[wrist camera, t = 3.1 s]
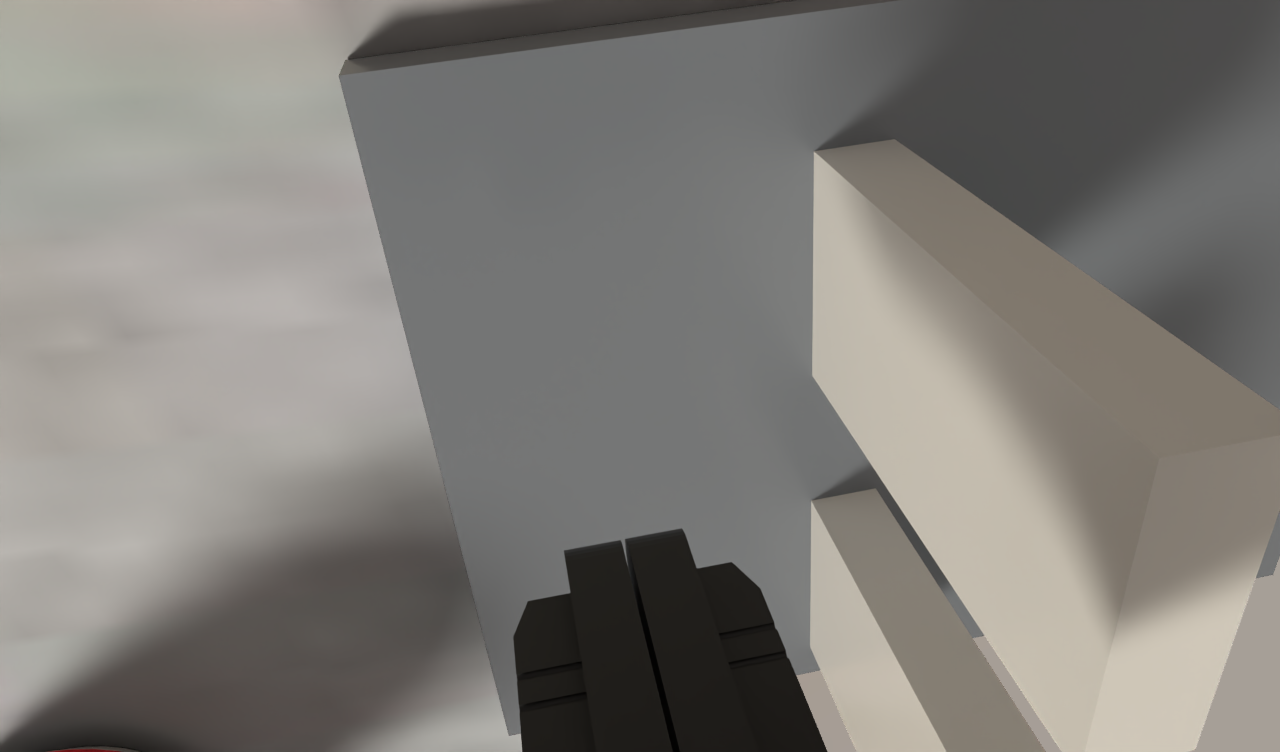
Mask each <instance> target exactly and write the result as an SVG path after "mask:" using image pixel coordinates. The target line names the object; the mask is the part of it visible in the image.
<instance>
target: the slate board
mask: <svg viewBox="0 0 1280 752" xmlns="http://www.w3.org/2000/svg"><path fill="white" fill-rule="evenodd" d="M339 79H340V83H341V86H342V90H343V94H344V98H345V102H346V106H347V110H348V114H349V117H350V121H351V125H352V129H353V133H354V137H355V141H356V145H357V148H358V152H359V156H360V160H361V164H362V168H363V172H364V176H365V179H366V183H367V187H368V191H369V195H370V199H371V203H372V207H373V211H374V214H375V218H376V222H377V226H378V230H379V234H380V238H381V242H382V245H383V249H384V253H385V257H386V261H387V265H388V269H389V273H390V276H391V280H392V284H393V288H394V292H395V296H396V300H397V304H398V307H399V311H400V315H401V319H402V323H403V327H404V331H405V335H406V338H407V342H408V346H409V350H410V354H411V358H412V362H413V366H414V369H415V373H416V377H417V381H418V385H419V389H420V393H421V397H422V400H423V404H424V408H425V412H426V416H427V420H428V424H429V428H430V432H431V435H432V439H433V443H434V447H435V451H436V455H437V459H438V463H439V466H440V470H441V474H442V478H443V482H444V486H445V490H446V494H447V497H448V501H449V505H450V509H451V513H452V517H453V521H454V525H455V528H456V532H457V536H458V540H459V544H460V548H461V552H462V556H463V559H464V563H465V567H466V571H467V575H468V579H469V583H470V587H471V590H472V594H473V598H474V602H475V606H476V610H477V614H478V618H479V621H480V625H481V629H482V633H483V637H484V641H485V645H486V649H487V653H488V656H489V660H490V664H491V668H492V672H493V676H494V680H495V684H496V687H497V691H498V695H499V699H500V703H501V707H502V711H503V715H504V718H505V722H506V726H507V730H508V734H509V736H511V735H516V734H520V733H521V726H520V714H519V713H520V709H519V702H518V689H517V675H516V665H515V653H514V640H513V636H514V634H515V631H516V629H517V626H518V624H519V621H520V619H521V617H522V614H523V612H524V609H525V607H526V604H527V602H528V601H531V600H536V599H542V598H547V597H552V596H557V595H563V594H568V593H570V586H569V580H568V574H567V568H566V562H565V555H564V550H569V549H574V548H580V547H585V546H590V545H596V544H601V543H607V542H612V541H617V540H621V542H622V545H623V549H624V553H625V557H626V561H627V556H626V547H625V539H627V538H632V537H637V536H643V535H648V534H654V533H659V532H664V531H670V530H675V529H680V528H682V529H683V531H684V533H685V535H686V538H687V541H688V544H689V547H690V550H691V553H692V556H693V559H694V562H695V565H696V568H702V567H708V566H713V565H718V564H723V563H729V562H732V563H734V564H735V565H736V566H737V567H738V568H739V569H740V570H741V571H742V572H743V573H744V574H745V575H747V576H748V577H749V578H750V579H751V580H752V581H753V582H754V583H755V584H756V585H757V586H758V587H759V588H760V589H761V591H762V594H763V596H764V598H765V601H766V603H767V606H768V608H769V611H770V613H771V615H772V618H773V620H774V624H775V628H776V629H777V630H778V633H779V635H780V637H781V640H782V642H783V645H784V647H785V650H786V655H787V658H789V659H790V662H791V664H792V667H793V669H794V672H795V674H796V675H800V674H805V673H809V672H814V671H819V670H820V668H819V666H818V663H817V661H816V659H815V657H814V654H813V652H812V650H811V648H810V600H811V501H812V500H817V499H823V498H828V497H833V496H838V495H843V494H849V493H854V492H859V491H864V490H870V489H875V488H876V490H877V491H878V493H879V494H880V496H881V497H882V499H883V501H884V502H885V504H886V505H887V507H888V508H889V510H890V511H891V513H892V514H893V516H894V518H895V519H896V521H897V522H898V524H899V525H900V527H901V528H902V530H903V531H904V533H905V535H906V536H907V538H908V539H909V541H910V542H911V544H912V545H913V547H914V549H915V550H916V552H917V553H918V555H919V556H920V558H921V559H922V561H923V562H924V564H925V566H926V567H927V569H928V570H929V572H930V573H931V575H932V576H933V578H934V579H935V581H936V583H937V584H938V586H939V587H940V589H941V590H942V592H943V593H944V595H945V597H946V598H947V600H948V601H949V603H950V604H951V606H952V607H953V609H954V610H955V612H956V614H957V615H958V617H959V618H960V620H961V621H962V623H963V624H964V626H965V628H966V629H967V631H968V632H969V634H970V635H971V637H972V638H975V637H980V636H984V634H983V633H982V631H981V630H980V628H979V627H978V625H977V624H976V622H975V620H974V619H973V617H972V616H971V614H970V613H969V611H968V610H967V608H966V607H965V605H964V604H963V602H962V601H961V599H960V598H959V596H958V595H957V593H956V592H955V590H954V589H953V587H952V586H951V584H950V583H949V581H948V580H947V578H946V577H945V575H944V574H943V572H942V571H941V569H940V568H939V566H938V565H937V563H936V562H935V560H934V559H933V557H932V556H931V554H930V553H929V551H928V550H927V548H926V547H925V545H924V544H923V542H922V541H921V539H920V537H919V536H918V534H917V533H916V531H915V530H914V528H913V527H912V525H911V524H910V522H909V521H908V519H907V518H906V516H905V515H904V513H903V512H902V510H901V509H900V507H899V506H898V504H897V503H896V501H895V500H894V498H893V497H892V495H891V494H890V492H889V491H888V489H887V488H886V486H885V485H884V483H883V482H882V480H881V479H880V477H879V476H878V474H877V473H876V471H875V470H874V468H873V467H872V465H871V464H870V462H869V461H868V459H867V458H866V456H865V454H864V453H863V451H862V450H861V448H860V447H859V445H858V444H857V442H856V441H855V439H854V438H853V436H852V435H851V433H850V432H849V430H848V429H847V427H846V426H845V424H844V423H843V421H842V420H841V418H840V417H839V415H838V414H837V412H836V411H835V409H834V408H833V406H832V405H831V403H830V402H829V400H828V399H827V397H826V396H825V394H824V393H823V391H822V390H821V388H820V387H819V385H818V384H817V382H816V381H815V379H814V378H813V376H812V340H813V210H814V151H819V150H826V149H832V148H839V147H846V146H852V145H859V144H866V143H872V142H879V141H885V140H892V139H895V140H897V141H898V142H899V143H901V144H902V145H904V146H905V147H907V148H908V149H909V150H911V151H912V152H914V153H915V154H917V155H918V156H919V157H921V158H922V159H924V160H925V161H926V162H928V163H929V164H931V165H932V166H934V167H935V168H936V169H938V170H939V171H941V172H942V173H944V174H945V175H946V176H948V177H949V178H951V179H952V180H953V181H955V182H956V183H958V184H959V185H961V186H962V187H963V188H965V189H966V190H968V191H969V192H971V193H972V194H973V195H975V196H976V197H978V198H979V199H981V200H982V201H983V202H985V203H986V204H988V205H989V206H990V207H992V208H993V209H995V210H996V211H998V212H999V213H1000V214H1002V215H1003V216H1005V217H1006V218H1008V219H1009V220H1010V221H1012V222H1013V223H1015V224H1016V225H1018V226H1019V227H1020V228H1022V229H1023V230H1025V231H1026V232H1027V233H1029V234H1030V235H1032V236H1033V237H1035V238H1036V239H1037V240H1039V241H1040V242H1042V243H1043V244H1045V245H1046V246H1047V247H1049V248H1050V249H1052V250H1053V251H1055V252H1056V253H1057V254H1059V255H1060V256H1062V257H1063V258H1064V259H1066V260H1067V261H1069V262H1070V263H1072V264H1073V265H1074V266H1076V267H1077V268H1079V269H1080V270H1082V271H1083V272H1084V273H1086V274H1087V275H1089V276H1090V277H1091V278H1093V279H1094V280H1096V281H1097V282H1099V283H1100V284H1101V285H1103V286H1104V287H1106V288H1107V289H1109V290H1110V291H1111V292H1113V293H1114V294H1116V295H1117V296H1119V297H1120V298H1121V299H1123V300H1124V301H1126V302H1127V303H1128V304H1130V305H1131V306H1133V307H1134V308H1136V309H1137V310H1138V311H1140V312H1141V313H1143V314H1144V315H1146V316H1147V317H1148V318H1150V319H1151V320H1153V321H1154V322H1156V323H1157V324H1158V325H1160V326H1161V327H1163V328H1164V329H1165V330H1167V331H1168V332H1170V333H1171V334H1173V335H1174V336H1175V337H1177V338H1178V339H1180V340H1181V341H1183V342H1184V343H1185V344H1187V345H1188V346H1190V347H1191V348H1192V349H1194V350H1195V351H1197V352H1198V353H1200V354H1201V355H1202V356H1204V357H1205V358H1207V359H1208V360H1210V361H1211V362H1212V363H1214V364H1215V365H1217V366H1218V367H1220V368H1221V369H1222V370H1224V371H1225V372H1227V373H1228V374H1229V375H1231V376H1232V377H1234V378H1235V379H1237V380H1238V381H1239V382H1241V383H1242V384H1244V385H1245V386H1247V387H1248V388H1249V389H1251V390H1252V391H1254V392H1255V393H1257V394H1258V395H1259V396H1261V397H1262V398H1264V399H1265V400H1266V401H1268V402H1269V403H1271V404H1272V405H1274V406H1275V407H1276V408H1278V409H1279V410H1280V0H794V1H787V2H779V3H772V4H764V5H757V6H749V7H742V8H734V9H726V10H719V11H711V12H704V13H696V14H689V15H681V16H674V17H666V18H659V19H651V20H644V21H636V22H628V23H621V24H613V25H606V26H598V27H591V28H583V29H576V30H568V31H561V32H553V33H545V34H538V35H530V36H523V37H515V38H508V39H500V40H493V41H485V42H478V43H470V44H463V45H455V46H447V47H440V48H432V49H425V50H417V51H410V52H402V53H395V54H387V55H380V56H372V57H365V58H357V59H349V60H345V62H344V65H343V67H342V69H341V72H340V74H339ZM1279 556H1280V511H1279V514H1278V517H1277V519H1276V522H1275V525H1274V528H1273V531H1272V534H1271V536H1270V539H1269V542H1268V545H1267V548H1266V551H1265V553H1264V556H1263V559H1262V562H1261V565H1260V568H1259V570H1258V573H1257V576H1256V578H1259V577H1264V576H1269V575H1273V573H1274V570H1275V567H1276V565H1277V562H1278V559H1279ZM627 565H628V564H627Z"/></svg>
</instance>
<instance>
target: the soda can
mask: <svg viewBox="0 0 1280 752" xmlns="http://www.w3.org/2000/svg"><path fill="white" fill-rule="evenodd" d="M47 752H140V751H136V750H131V749H125V748H119V747H107V746H86V747H77V748H69V749H64V750H56V751H47Z"/></svg>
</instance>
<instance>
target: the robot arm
mask: <svg viewBox="0 0 1280 752" xmlns="http://www.w3.org/2000/svg"><path fill="white" fill-rule="evenodd" d="M625 547H626V556H627V561H626V557H625V553H624V549H623V545H622V542H621V540H617V541H612V542H607V543H601V544H596V545H590V546H585V547H580V548H574V549H569V550H564V555H565V562H566V568H567V574H568V580H569V586H570V593H568V594H563V595H557V596H552V597H547V598H542V599H536V600H531V601H528V602H527V604H526V607H525V609H524V612H523V614H522V617H521V619H520V621H519V624H518V626H517V629H516V631H515V634H514V636H513V640H514V653H515V665H516V675H517V689H518V702H519V709H520V713H519V714H520V726H521V739H522V751H523V752H827V750H826V747H825V745H824V742H823V740H822V737H821V735H820V733H819V730H818V728H817V725H816V723H815V720H814V718H813V716H812V713H811V711H810V708H809V706H808V703H807V701H806V699H805V696H804V693H803V691H802V689H801V686H800V684H799V681H798V679H797V677H796V674H795V672H794V669H793V667H792V664H791V662H790V659H789V658H787V655H786V650H785V647H784V645H783V642H782V640H781V637H780V635H779V633H778V630H777V629H776V628H775V624H774V620H773V618H772V615H771V613H770V611H769V608H768V606H767V603H766V601H765V598H764V596H763V594H762V591H761V589H760V588H759V587H758V586H757V585H756V584H755V583H754V582H753V581H752V580H751V579H750V578H749V577H748V576H747V575H745V574H744V573H743V572H742V571H741V570H740V569H739V568H738V567H737V566H736V565H735V564H734V563H732V562H729V563H723V564H718V565H713V566H708V567H702V568H696V565H695V562H694V559H693V556H692V553H691V550H690V547H689V544H688V541H687V538H686V535H685V533H684V531H683V529H682V528H680V529H675V530H670V531H664V532H659V533H654V534H648V535H643V536H637V537H632V538H627V539H625ZM627 564H628V565H627Z"/></svg>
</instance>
